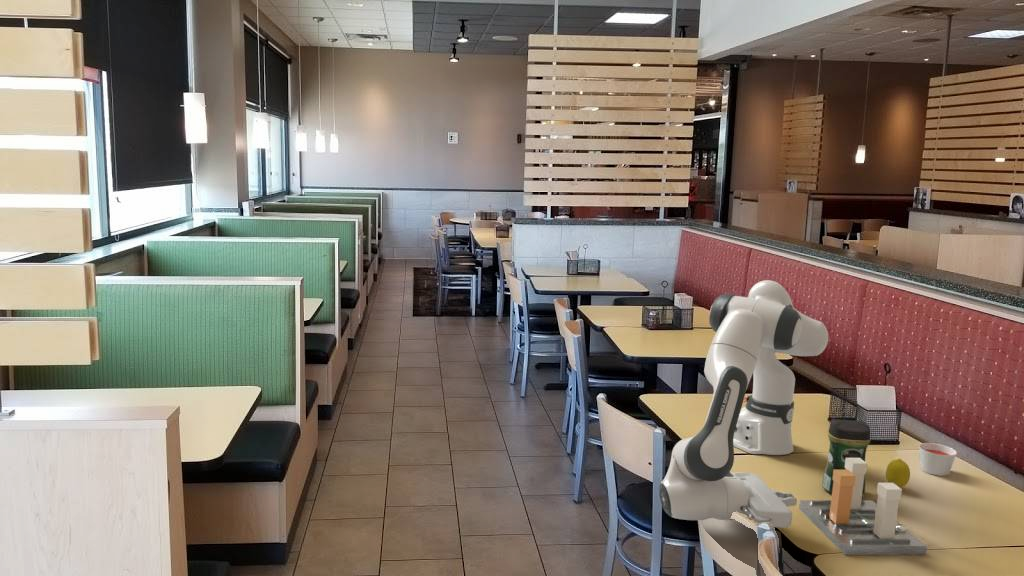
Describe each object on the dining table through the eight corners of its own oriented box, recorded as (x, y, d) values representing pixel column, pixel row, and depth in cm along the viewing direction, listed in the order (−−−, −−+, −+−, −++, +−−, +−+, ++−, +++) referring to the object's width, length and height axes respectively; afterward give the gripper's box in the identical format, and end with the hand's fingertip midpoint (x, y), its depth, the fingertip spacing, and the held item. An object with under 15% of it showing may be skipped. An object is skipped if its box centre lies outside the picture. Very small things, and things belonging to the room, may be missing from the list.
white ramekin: (917, 474, 213) (920, 451, 211) (914, 462, 221) (917, 440, 220) (955, 480, 209) (958, 457, 208) (951, 468, 218) (954, 446, 216)
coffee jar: (857, 486, 203) (866, 417, 199) (867, 499, 195) (876, 427, 192) (818, 483, 204) (826, 414, 200) (826, 496, 196) (835, 424, 193)
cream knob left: (847, 509, 183) (853, 463, 181) (840, 503, 187) (845, 457, 185) (861, 509, 184) (867, 463, 182) (853, 503, 187) (859, 457, 185)
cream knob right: (880, 539, 170) (886, 489, 168) (871, 531, 173) (878, 482, 171) (895, 539, 170) (902, 489, 168) (886, 531, 173) (893, 482, 171)
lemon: (910, 494, 199) (914, 464, 198) (887, 491, 200) (891, 461, 199) (904, 485, 204) (908, 456, 203) (881, 482, 205) (885, 453, 204)
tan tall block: (835, 524, 176) (841, 475, 174) (827, 517, 179) (833, 469, 177) (849, 524, 176) (855, 475, 174) (842, 517, 179) (848, 469, 177)
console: (845, 555, 167) (846, 541, 166) (798, 508, 188) (800, 496, 188) (925, 554, 168) (927, 541, 168) (870, 508, 190) (872, 496, 190)
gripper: (753, 507, 164) (817, 507, 165) (719, 467, 184) (776, 467, 185) (750, 535, 165) (813, 535, 166) (716, 492, 185) (774, 492, 186)
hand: (794, 499), depth 176 cm, fingers closed
